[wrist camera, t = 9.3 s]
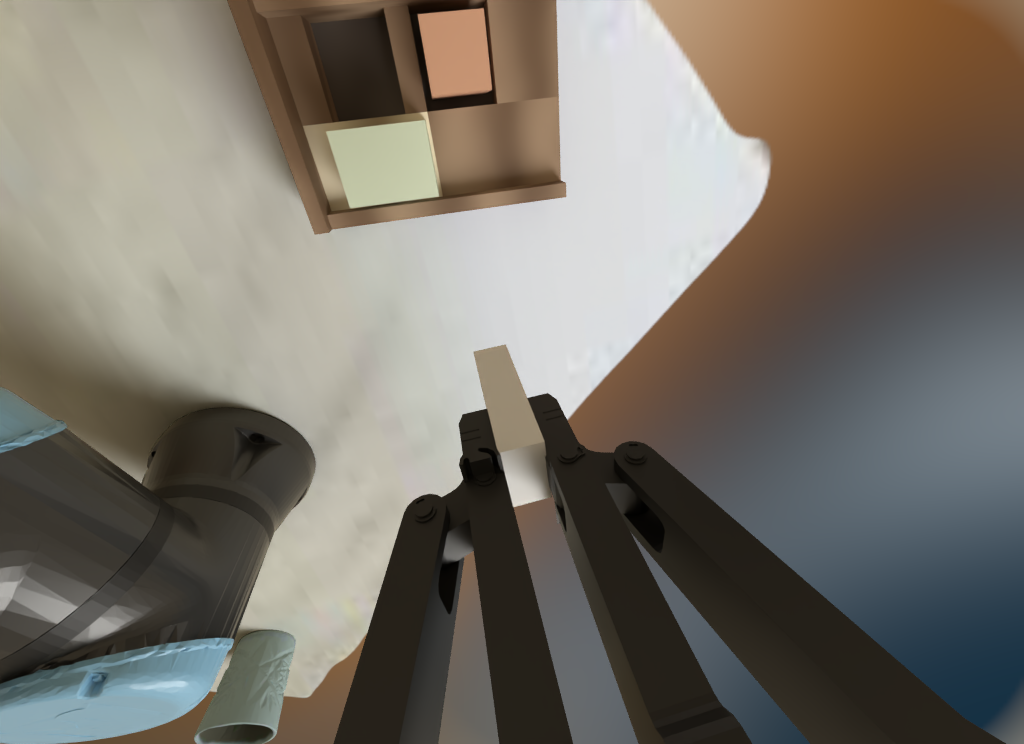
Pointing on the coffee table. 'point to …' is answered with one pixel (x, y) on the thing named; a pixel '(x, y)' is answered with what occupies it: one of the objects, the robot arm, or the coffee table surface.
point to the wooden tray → (407, 99)
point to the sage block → (385, 163)
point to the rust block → (456, 52)
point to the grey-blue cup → (250, 691)
